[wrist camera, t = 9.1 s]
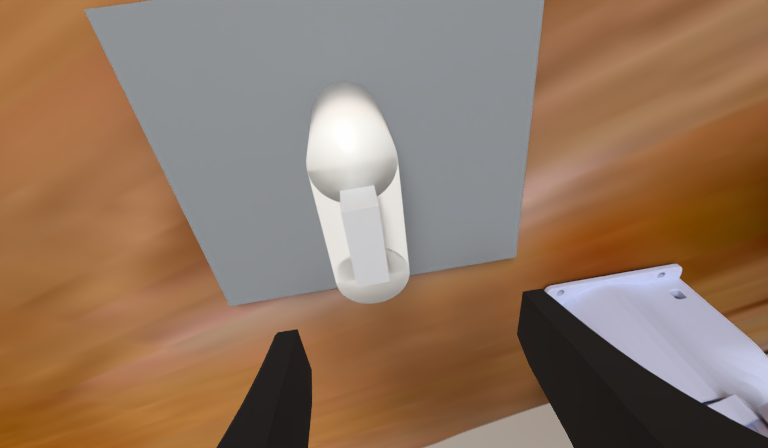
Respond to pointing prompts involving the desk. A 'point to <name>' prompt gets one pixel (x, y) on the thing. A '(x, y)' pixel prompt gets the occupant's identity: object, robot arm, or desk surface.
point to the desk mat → (293, 117)
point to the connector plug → (358, 193)
